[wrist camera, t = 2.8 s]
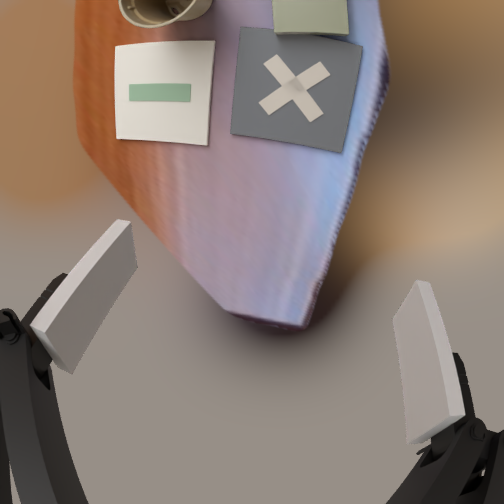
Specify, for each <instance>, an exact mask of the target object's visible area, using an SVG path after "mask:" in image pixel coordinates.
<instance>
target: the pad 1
mask: <svg viewBox="0 0 504 504" xmlns="http://www.w3.org/2000/svg"><path fill="white" fill-rule="evenodd" d="M215 42H216V41H167V42H152V43H140V44H131V45H123V46H115V116H116V136H117V139H133V140H150V141H164V142H177V143H187V144H197V145H208V135H209V118H210V103H211V89H212V76H213V64H214V53H215Z"/></svg>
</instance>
